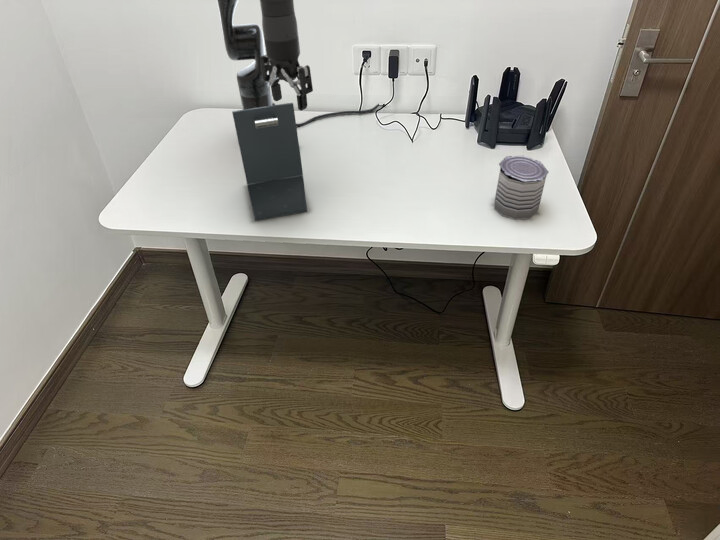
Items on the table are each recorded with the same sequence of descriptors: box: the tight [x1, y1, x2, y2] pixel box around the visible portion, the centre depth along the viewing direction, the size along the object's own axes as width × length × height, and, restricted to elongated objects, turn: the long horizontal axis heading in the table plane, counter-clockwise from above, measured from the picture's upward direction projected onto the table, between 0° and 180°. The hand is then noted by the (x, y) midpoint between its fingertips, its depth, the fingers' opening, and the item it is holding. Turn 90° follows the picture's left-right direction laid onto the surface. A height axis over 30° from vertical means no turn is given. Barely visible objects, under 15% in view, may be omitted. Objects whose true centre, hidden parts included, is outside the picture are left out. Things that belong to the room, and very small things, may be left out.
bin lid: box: [231, 102, 304, 185], centre depth 120 cm, size 18×14×5 cm
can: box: [493, 155, 550, 221], centre depth 130 cm, size 11×11×12 cm
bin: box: [246, 174, 308, 222], centre depth 137 cm, size 17×14×11 cm
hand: (290, 104), depth 126 cm, fingers open, 8 cm apart
